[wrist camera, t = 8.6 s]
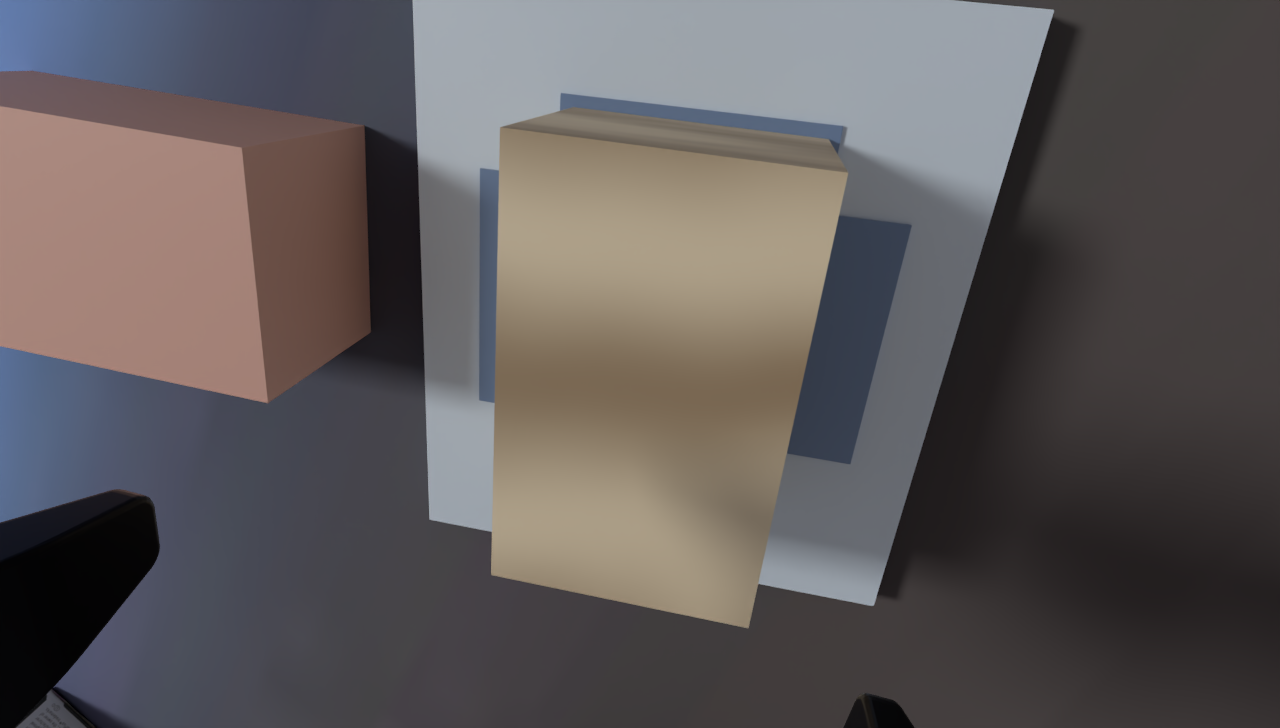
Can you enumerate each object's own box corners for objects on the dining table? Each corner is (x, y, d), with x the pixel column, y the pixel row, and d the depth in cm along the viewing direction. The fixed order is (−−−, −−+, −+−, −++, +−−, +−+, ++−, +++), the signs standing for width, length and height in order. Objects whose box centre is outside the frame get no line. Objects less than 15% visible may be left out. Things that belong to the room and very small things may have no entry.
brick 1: (368, 125, 19) (241, 147, 15) (374, 329, 22) (268, 403, 17) (38, 70, 20) (-173, 75, 16) (80, 271, 23) (-91, 326, 18)
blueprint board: (870, 587, 22) (873, 608, 21) (440, 505, 24) (428, 521, 23) (1040, 12, 15) (1055, 9, 15) (426, -47, 17) (409, -52, 16)
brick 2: (754, 501, 20) (748, 628, 16) (552, 463, 21) (491, 574, 17) (828, 139, 16) (848, 172, 12) (573, 107, 17) (500, 127, 12)
